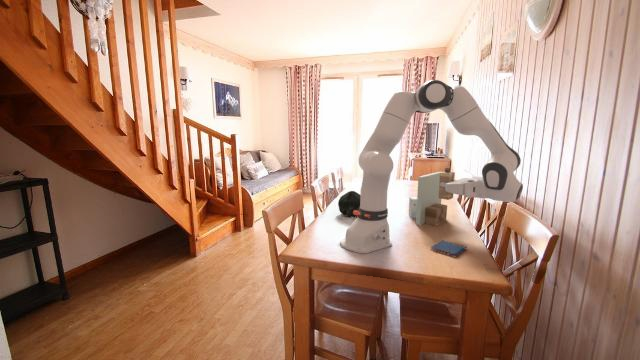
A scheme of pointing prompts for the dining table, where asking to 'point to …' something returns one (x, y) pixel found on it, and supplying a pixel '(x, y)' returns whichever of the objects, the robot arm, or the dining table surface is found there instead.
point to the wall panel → (427, 194)
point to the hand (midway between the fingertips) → (444, 182)
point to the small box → (412, 207)
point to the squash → (349, 203)
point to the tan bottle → (447, 178)
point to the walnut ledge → (435, 214)
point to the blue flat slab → (448, 248)
